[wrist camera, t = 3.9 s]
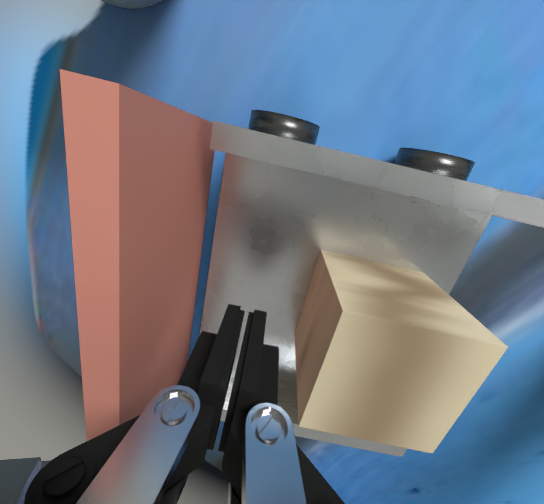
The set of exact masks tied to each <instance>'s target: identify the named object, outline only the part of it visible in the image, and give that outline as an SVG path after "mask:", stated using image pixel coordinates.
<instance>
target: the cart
mask: <svg viewBox="0 0 544 504" xmlns="http://www.w3.org/2000/svg"><path fill="white" fill-rule="evenodd" d="M319 128H320V127H319V126H318V125H316V124H314V123H311V122H308V121H305V120H302V119H299V118H295V117H292V116H288V115H283V114H279V113H274V112H269V111H263V110H252V111H251V117H250V123H249V129H246V128H242V127H237V126H233V125H229V124H225V123H221V122H216V121H213V126H212V134H211V142H210V149H212V150H216V151H221V152H225V153H226V155H225V162H224V169H223V176H222V183H221V190H220V197H219V204H218V210H217V217H216V224H215V231H214V238H213V245H212V252H211V259H210V266H209V273H208V280H207V287H206V294H205V301H204V308H203V315H202V322H201V329H200V334H201V332H202V331H205V332H210V333H214V334H217V333H218V331H219V328H220V325H221V323H222V320H223V317H224V314H225V312H226V309H227V306H228V304H232V305H237V306H241V309H240V310H244V311H245V313H244V318H243V323H242V327H241V332H240V337H239V341H238V346H237V351H236V355H235V360H234V364H233V369H232V373H231V377H230V381H229V385H228V390H227V394H226V398H225V402H224V406H223V411H222V415H221V419H220V421H224V422H225V418H226V413H227V409H228V404H229V400H230V395H231V391H232V386H233V382H234V377H235V373H236V368H237V364H238V359H239V355H240V350H241V346H242V341H243V337H244V332H245V327H246V323H247V318H248V314H249V312H253V313H254V310H255V309H256V310H260V311H265V312H267V316H266V325H265V334H264V344H267V345H272V346H277V347H279V370H278V406H279V407H281V408H282V409H283V410H284V411H285V412H286V413H287V414H288V416H289V417H290V419H291V422H292V425H293V430H294V435H295V436H299V437H304V438H309V439H314V440H319V441H324V442H329V443H334V444H339V445H344V446H349V447H354V448H359V449H364V450H369V451H374V452H379V453H384V454H389V455H394V456H399V457H402V456H403V455H404V453H405V452H406V450H407V448H403V447H398V446H393V445H388V444H383V443H378V442H373V441H368V440H363V439H358V438H353V437H349V436H344V435H339V434H334V433H329V432H324V431H319V430H314V429H309V428H304V427H299V421H298V401H297V380H296V359H295V338H294V334H295V330H296V327H297V324H298V321H299V318H300V314H301V311H302V308H303V305H304V302H305V298H306V295H307V292H308V289H309V286H310V282H311V279H312V276H313V273H314V269H315V266H316V263H317V260H318V257H319V253H320V250H326V251H330V252H335V253H339V254H344V255H348V256H352V257H357V258H361V259H366V260H370V261H375V262H379V263H383V264H388V265H392V266H397V267H401V268H406V269H410V270H415V271H419V272H423V273H424V274H426V275H427V276H428V277H429V278H430V279H431V280H432V281H434V282H435V283H436V284H437V285H438V286H439V287H440V288H442V289H443V290H444V291H445V292H446V293H447V294H448V295H449V293H450V292H451V290H452V288H453V286H454V284H455V282H456V281H457V279H458V277H459V275H460V273H461V272H462V270H463V268H464V266H465V264H466V262H467V261H468V259H469V257H470V255H471V253H472V252H473V250H474V248H475V246H476V244H477V242H478V241H479V239H480V237H481V235H482V233H483V232H484V230H485V228H486V226H487V224H488V222H489V221H490V219H491V217H492V215H493V216H497V217H501V218H505V219H510V220H514V221H518V222H522V223H527V224H531V225H535V226H539V227H544V200H543V199H538V198H534V197H530V196H526V195H522V194H518V193H513V192H509V191H505V190H501V189H497V188H492V187H488V186H484V185H480V184H476V183H472V182H467V181H466V180H467V178H468V176H469V174H470V172H471V170H472V168H473V166H474V164H475V162H473V161H471V160H468V159H464V158H461V157H457V156H453V155H448V154H443V153H438V152H433V151H427V150H421V149H413V148H400V149H399V151H398V154H397V157H396V159H395V162H394V164H392V163H388V162H384V161H380V160H375V159H371V158H367V157H363V156H359V155H354V154H350V153H346V152H342V151H338V150H334V149H329V148H325V147H321V146H317V145H315V144H316V140H317V136H318V132H319Z"/></svg>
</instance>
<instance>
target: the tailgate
mask: <svg viewBox="0 0 544 504" xmlns="http://www.w3.org/2000/svg"><path fill="white" fill-rule="evenodd" d="M60 81H61V94H62V108H63V122H64V135H65V149H66V163H67V177H68V190H69V204H70V218H71V231H72V245H73V259H74V273H75V286H76V300H77V314H78V327H79V341H80V355H81V369H82V382H83V396H84V409H85V423H86V436H87V441H89V440H91V439H93V438H95V437H97V436H99V435H101V434H103V433H105V432H107V431H109V430H111V429H113V428H115V427H117V426H119V425H121V424H123V423H125V422H127V421H129V420H131V419H133V418H135V417H137V416H139V415H141V413H142V412H143V411H144V409H145V408H146V407H147V405H148V404H149V402H150V401H151V400H152V398H153V397H154V396H155V395H156V394H157V393H158V392H160V391H161V390H163V389H164V388H167V387H170V386H176V385H177V384H178V382H179V380H180V377H181V375H182V373H183V371H184V369H185V367H186V364H187V362H188V354H189V346H190V339H191V331H192V323H193V315H194V307H195V299H196V292H197V284H198V276H199V268H200V260H201V252H202V245H203V237H204V229H205V221H206V213H207V205H208V198H209V190H210V182H211V174H212V166H213V158H214V150H212V149H210V142H211V134H212V126H213V123H211V122H209V121H207V120H204V119H202V118H200V117H197V116H195V115H193V114H190V113H188V112H185V111H183V110H181V109H178V108H176V107H174V106H171V105H169V104H166V103H164V102H162V101H159V100H157V99H155V98H152V97H150V96H147V95H145V94H143V93H140V92H138V91H136V90H133V89H131V88H129V87H126V86H124V85H121V84H119V83H115V82H111V81H107V80H103V79H99V78H95V77H91V76H87V75H82V74H78V73H74V72H70V71H66V70H62V69H60Z"/></svg>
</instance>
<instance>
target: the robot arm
mask: <svg viewBox="0 0 544 504" xmlns="http://www.w3.org/2000/svg"><path fill="white" fill-rule="evenodd" d="M240 309H241V306H237V305H232V304H228V306H227V309H226V312H225V314H224V317H223V320H222V323H221V325H220V328H219V331H218V333H217V334H214V333H210V332H205V331H202V332H201V334H200V336H199V338H198V340H197V343H196V345H195V347H194V349H193V351H192V354H191V356H190V358H189V360H188V362H187V364H186V367H185V369H184V371H183V373H182V375H181V377H180V380H179V382H178V384H177V385H176V386H170V387H167V388H164V389H163V390H161V391H160V392H158V393H157V394H156V395H155V396H154V397H153V398H152V400H151V401H150V402H149V404H148V405H147V407H146V408H145V409H144V411H143V412H142V413H141V415H139V416H137V417H135V418H133V419H131V420H129V421H127V422H125V423H123V424H121V425H119V426H117V427H115V428H113V429H111V430H109V431H107V432H105V433H103V434H101V435H99V436H97V437H95V438H93V439H91V440H89V441H87V442H85V443H83V444H81V445H79V446H77V447H75V448H73V449H71V450H69V451H67V452H65V453H63V454H61V455H59V456H58V457H56V458H54V459H53V460H51V461H41V458H40V457H37V458H23V459H9V460H0V504H177V502H178V500H179V498H180V495H181V493H182V491H183V488H184V486H185V484H186V481H187V479H188V475H189V473H191V472H192V471H193V470H195V469H196V468H197V467H199V466H200V465H201V464H202V462H203V460H204V458H205V454H206V451H207V449H211V450H213V448H214V444H215V440H216V436H217V431H218V427H219V423H220V419H221V415H222V411H223V406H224V402H225V398H226V394H227V390H228V385H229V381H230V377H231V373H232V369H233V364H234V360H235V355H236V351H237V346H238V341H239V337H240V332H241V327H242V323H243V318H244V313H245V311H244V310H240ZM266 316H267V312H265V311H260V310H256V309H255V310H254V313H253V312H249V314H248V318H247V323H246V327H245V332H244V337H243V341H242V346H241V350H240V355H239V359H238V364H237V368H236V373H235V377H234V382H233V386H232V391H231V395H230V400H229V404H228V409H227V413H226V418H225V422H224V427H223V431H222V436H221V440H220V445H219V449H218V451H222V452H224V456H223V461H222V470H223V471H224V473H225V475H226V476H227V478H228V480H229V490H228V504H345V503H344V502H343V501H342V500H341V498H340V497H339V496H338V495H337V493H336V492H335V491H334V490H333V489H332V487H331V486H330V485H329V484H328V482H327V481H326V480H325V479H324V478H323V476H322V475H321V474H320V473H319V471H318V470H317V469H316V468H315V467H314V465H313V464H312V463H311V462H310V460H309V459H308V458H307V457H306V455H305V454H304V453H303V452H302V451H301V449H300V448H299V447H298V446H297V444H296V441H295V435H294V430H293V425H292V422H291V419H290V417H289V416H288V414H287V413H286V412H285V411H284V410H283V409H282V408H281V407H279V406H278V370H279V347H277V346H272V345H267V344H264V334H265V325H266Z"/></svg>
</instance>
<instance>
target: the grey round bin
mask: <svg viewBox="0 0 544 504" xmlns="http://www.w3.org/2000/svg"><path fill="white" fill-rule="evenodd" d="M102 1H104V2H106V3H109V4H111V5H114V6H118V7H121V8H129V9H137V8H146V7H149V6H152V5H155V4H157V3H159V2H160V1H162V0H102Z"/></svg>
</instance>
